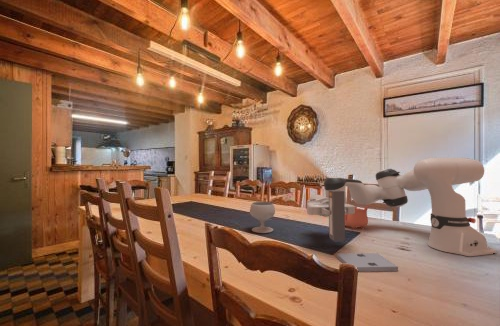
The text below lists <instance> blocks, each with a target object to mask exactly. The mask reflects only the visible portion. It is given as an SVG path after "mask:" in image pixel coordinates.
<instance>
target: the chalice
mask: <svg viewBox="0 0 500 326" xmlns="http://www.w3.org/2000/svg"><path fill="white" fill-rule="evenodd" d="M249 213H250V216H251V217H253V218H254V219H256V220H258V221H259V222H260V226H255V227H253V228H251V232H253V233H258V234H267V233H272V232H274V228H273V227H270V226H265V222H266V221H267V220H270V219H271V218H273V217H274V216H275V214H276V209H275V205H274V203H273V202H271V201H270V202H269V201H254V202H252V203H251V205H250V208H249Z"/></svg>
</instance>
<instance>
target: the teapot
mask: <svg viewBox="0 0 500 326" xmlns="http://www.w3.org/2000/svg"><path fill="white" fill-rule="evenodd" d="M353 206H354V207H355V213H354V214H346V215H345V226H346V227H347V228H349V227H351V229H352V230H357V228H360V229H365V227H367V226H368V224H369V219H368V209H369V207H370V206H365V207H364V208H358V206H355V205H353ZM346 227H345V228H346Z"/></svg>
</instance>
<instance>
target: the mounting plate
mask: <svg viewBox="0 0 500 326" xmlns="http://www.w3.org/2000/svg"><path fill="white" fill-rule="evenodd" d="M336 258H337V259H338V260H339V261H340V260H341V261H340V262H341V263H342V264H343V263H348V264H353V265H355V266H356V267H357V269H358V271H359V272H360V273H361V272H365V273H366V272H399V266H398V265H396V264H395V263H393V262H392V261H390V260H389V259H387V258H385V257H384V256H383V255H381V254H380V253H378V252H361V253H360V252H359V253H358V252H357V253H355V252H354V253H351V252H350V253H347V252H346V253H336ZM359 272H358V273H359Z"/></svg>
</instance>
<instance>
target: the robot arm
mask: <svg viewBox="0 0 500 326" xmlns="http://www.w3.org/2000/svg"><path fill="white" fill-rule="evenodd" d="M400 173H401V172H400V171H397V170H396V169H393V168H384V169H381V170H379V171H377V173H376V174H375V179H376V182H377V185H376V184H364V183H363V182H362V180H359V179H352V178H344V177H338V176H329V177H327V178H326V179H325V180H324V181H323V186H324V187H323V188H324V191H325V194H324V195H325V196H324V195H321V194H312V195H311V196H310V197H309V198H308V199H307V200H306V213H307V215H309V216H312V215H313V216H314V215H315V216H321V217H324V218H326V217H327V218H329V215H331V214H332V213H331V212H332V211H331V210H329V190H341V191H344V198H345V215H346V214H354V213H355V207H354V206H355V205H353V204H349V203H347V201H348V200H347V194H346V187H347V188H348V190H349V194H350V197H351V199H352V201H353V202H355V204H357V205H359V206H367V205H368V206H369V205H371V204H374V203H376V202H379V201H382V202H381V203H382V204H385V205H387V206H388V207H390V208H400V207H403V206H405V205H406V204H408V202H409V199H408V196H407V193H406V191H409V192H420V191H424V190H428V193H429V196H430V200H431V201H430V203H431V212H430V224H431V226H430V227H431V228H430V232H429V233H430V234H429V238H428V242H427V246H429V247H430V248H432V249H435V250H438V251H442V252H446V253H451V254H456V255H462V256H466V257H476V256H477V257H478V256H484V255H493V253H495V254H496V253H497V251H496V250H495V249H494V248H491V247H488V241H487V238H486V237H485V235H483V234H482V233H480V231H478V230H477V229H475V228H473V227H472V226H471V224H470V223H472V224H475V223H476V222H477V220H476V218H474V217H467V216H466V199H465V197H464V196H463V195H461V194H460V193H458V192H457V191H455V190H454V188H453V186H457V185H461V184H462V185H463V184H469V183H475V182H478V181H480V180H481V179H483V177H484V175H485V167H484V165H483V163H482V162H481V161H479V160H477V159H472V158H466V157H429V158H424V159H420V160H418V161H417V162H416V163H415V164H414V167H413V169H412V170H410V171H407V172H406V173H403V174H400Z"/></svg>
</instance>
